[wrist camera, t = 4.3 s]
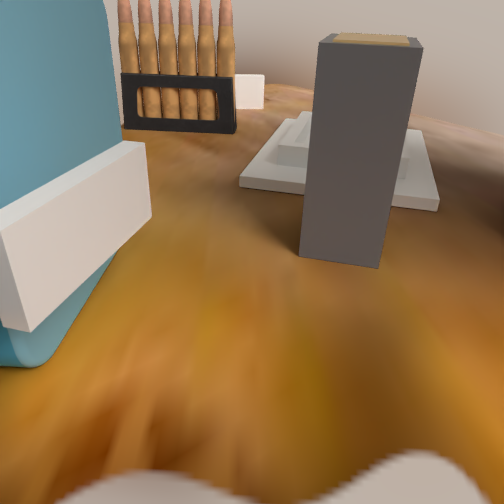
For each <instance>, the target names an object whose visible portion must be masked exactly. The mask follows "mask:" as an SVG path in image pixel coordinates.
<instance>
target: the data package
mask: <svg viewBox="0 0 504 504" xmlns="http://www.w3.org/2000/svg"><path fill="white" fill-rule="evenodd" d="M122 141H123V140H122V132H121V124H120V116H119V108H118V100H117V92H116V84H115V76H114V68H113V60H112V52H111V44H110V36H109V28H108V21H107V14H106V10H105V6H104V3H103V0H0V209H1V208H3V207H5V206H7V205H9V204H10V203H12V202H14V201H16V200H18V199H19V198H21V197H23V196H25V195H27V194H28V193H30V192H32V191H34V190H36V189H37V188H39V187H41V186H43V185H45V184H46V183H48V182H50V181H52V180H54V179H55V178H57V177H59V176H61V175H63V174H64V173H66V172H68V171H70V170H72V169H74V168H75V167H77V166H79V165H81V164H83V163H84V162H86V161H88V160H90V159H92V158H93V157H95V156H97V155H99V154H101V153H102V152H104V151H106V150H108V149H110V148H111V147H113V146H115V145H117V144H119V143H120V142H122ZM116 252H117V251H116ZM116 252H115V253H114V254H113V255H112V256H110V257H109V258H108V259H107V260H106V261H105V262H104V263H103V264H102V265H101V266H100V267H99V268H98V269H97V270H96V271H95V272H94V273H93V274H92V275H90V276H89V277H88V278H87V279H86V280H85V281H84V282H83V283H82V284H81V285H80V286H79V287H78V288H77V289H76V290H75V291H74V292H73V293H72V294H71V295H69V296H68V297H67V298H66V299H65V300H64V301H63V302H62V303H61V304H60V305H59V306H58V307H57V308H56V309H55V310H54V311H53V312H52V313H51V314H50V315H48V316H47V317H46V318H45V319H44V320H43V321H42V322H41V323H40V324H39V325H38V326H37V327H36V328H35V329H34V330H33V331H32V332H31V333H30V332H25V331H21V330H16V329H11V328H7V327H3V324H2V321H1V319H0V366H11V367H30V368H32V367H38V366H40V365H42V364H44V363H45V362H47V361H48V360H49V359H50V358H51V356H52V355H53V354H54V352H55V351H56V349H57V348H58V346H59V344H60V343H61V341H62V340H63V338H64V336H65V335H66V333H67V331H68V330H69V328H70V327H71V325H72V323H73V322H74V320H75V318H76V317H77V315H78V314H79V312H80V310H81V309H82V307H83V306H84V304H85V302H86V301H87V299H88V297H89V296H90V294H91V293H92V291H93V289H94V288H95V286H96V284H97V283H98V281H99V280H100V278H101V276H102V275H103V273H104V272H105V270H106V268H107V267H108V265H109V263H110V262H111V260H112V259H113V257H114V255H115V254H116Z"/></svg>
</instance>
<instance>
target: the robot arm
mask: <svg viewBox="0 0 504 504" xmlns="http://www.w3.org/2000/svg"><path fill="white" fill-rule="evenodd" d="M151 217H152V211H151V201H150V191H149V181H148V171H147V160H146V150H145V143H142V142H133V141H122V142H120V143H119V144H117V145H115V146H113V147H111V148H110V149H108V150H106V151H104V152H102V153H101V154H99V155H97V156H95V157H93V158H92V159H90V160H88V161H86V162H84V163H83V164H81V165H79V166H77V167H75V168H74V169H72V170H70V171H68V172H66V173H64V174H63V175H61V176H59V177H57V178H55V179H54V180H52V181H50V182H48V183H46V184H45V185H43V186H41V187H39V188H37V189H36V190H34V191H32V192H30V193H28V194H27V195H25V196H23V197H21V198H19V199H18V200H16V201H14V202H12V203H10V204H9V205H7V206H5V207H3V208H1V209H0V319H1V321H2V324H3V327H7V328H11V329H16V330H21V331H25V332H30V333H31V332H32V331H33V330H34V329H35V328H36V327H37V326H38V325H39V324H40V323H41V322H42V321H43V320H44V319H45V318H46V317H47V316H48V315H50V314H51V313H52V312H53V311H54V310H55V309H56V308H57V307H58V306H59V305H60V304H61V303H62V302H63V301H64V300H65V299H66V298H67V297H68V296H69V295H71V294H72V293H73V292H74V291H75V290H76V289H77V288H78V287H79V286H80V285H81V284H82V283H83V282H84V281H85V280H86V279H87V278H88V277H89V276H90V275H92V274H93V273H94V272H95V271H96V270H97V269H98V268H99V267H100V266H101V265H102V264H103V263H104V262H105V261H106V260H107V259H108V258H109V257H110V256H112V255H113V254H114V253H115V252H116V251H117V250H118V249H119V248H120V247H121V246H122V245H123V244H124V243H125V242H126V241H127V240H128V239H129V238H130V237H131V236H133V235H134V234H135V233H136V232H137V231H138V230H139V229H140V228H141V227H142V226H143V225H144V224H145V223H146V222H147V221H148V220H149V219H150V218H151Z"/></svg>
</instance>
